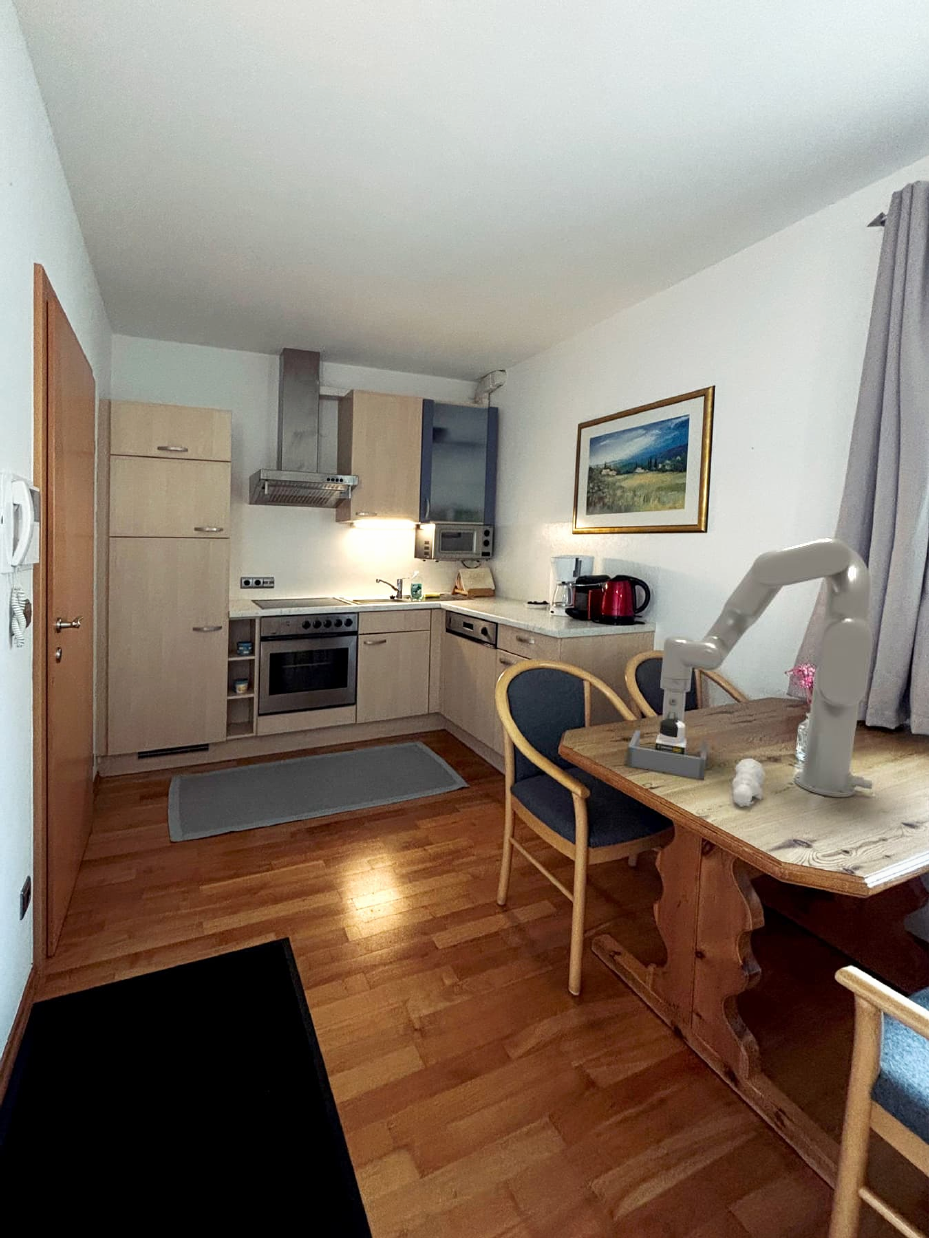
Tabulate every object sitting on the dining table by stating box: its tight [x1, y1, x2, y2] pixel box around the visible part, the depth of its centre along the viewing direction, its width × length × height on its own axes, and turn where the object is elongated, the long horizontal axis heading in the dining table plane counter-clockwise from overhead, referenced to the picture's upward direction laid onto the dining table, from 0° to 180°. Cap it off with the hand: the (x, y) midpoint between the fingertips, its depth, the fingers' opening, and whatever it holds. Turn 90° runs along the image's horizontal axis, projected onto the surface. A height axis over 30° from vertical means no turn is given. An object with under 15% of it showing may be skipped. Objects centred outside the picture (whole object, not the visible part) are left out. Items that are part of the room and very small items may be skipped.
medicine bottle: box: [654, 719, 688, 755], centre depth 154 cm, size 7×7×12 cm
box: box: [626, 729, 708, 781], centre depth 157 cm, size 18×15×5 cm
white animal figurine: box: [730, 758, 766, 808], centre depth 135 cm, size 6×8×12 cm
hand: (669, 749), depth 162 cm, fingers closed
